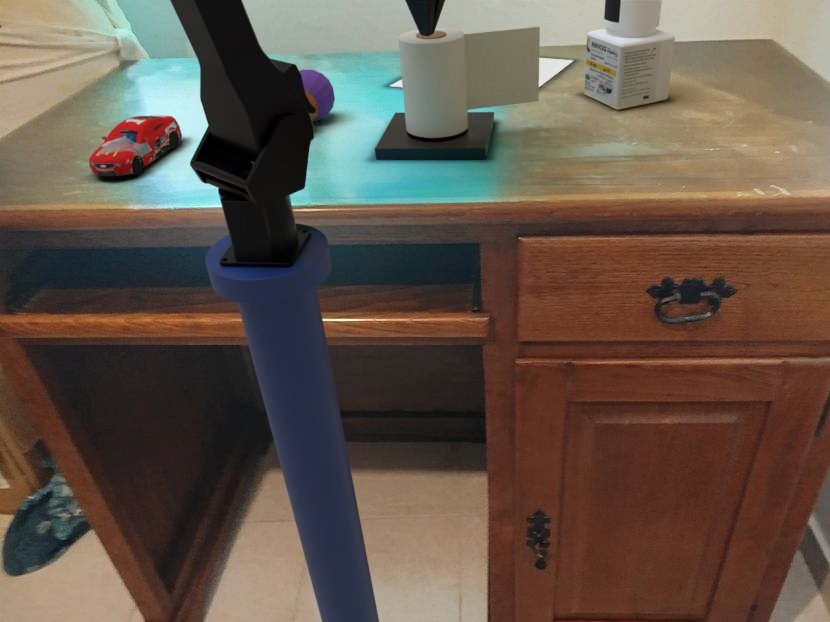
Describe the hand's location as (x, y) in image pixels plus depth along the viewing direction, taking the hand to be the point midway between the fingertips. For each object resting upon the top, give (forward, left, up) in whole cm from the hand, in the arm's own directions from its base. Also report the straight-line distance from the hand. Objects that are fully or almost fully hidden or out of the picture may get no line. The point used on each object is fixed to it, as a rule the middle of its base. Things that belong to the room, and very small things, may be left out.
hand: (427, 34), depth 71 cm
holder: (+6, +1, -13) cm, 14 cm away
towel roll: (+8, -3, -11) cm, 14 cm away
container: (+21, -21, -13) cm, 33 cm away
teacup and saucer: (+33, -2, -13) cm, 36 cm away
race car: (0, +34, -13) cm, 36 cm away
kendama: (+6, +18, -13) cm, 23 cm away
